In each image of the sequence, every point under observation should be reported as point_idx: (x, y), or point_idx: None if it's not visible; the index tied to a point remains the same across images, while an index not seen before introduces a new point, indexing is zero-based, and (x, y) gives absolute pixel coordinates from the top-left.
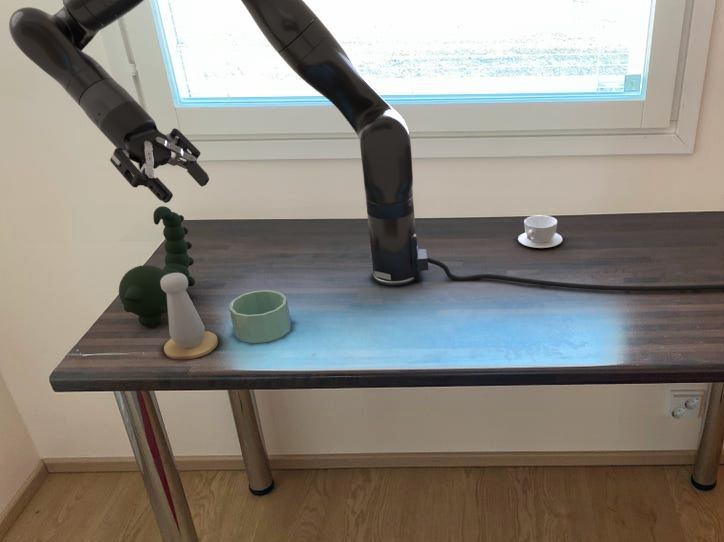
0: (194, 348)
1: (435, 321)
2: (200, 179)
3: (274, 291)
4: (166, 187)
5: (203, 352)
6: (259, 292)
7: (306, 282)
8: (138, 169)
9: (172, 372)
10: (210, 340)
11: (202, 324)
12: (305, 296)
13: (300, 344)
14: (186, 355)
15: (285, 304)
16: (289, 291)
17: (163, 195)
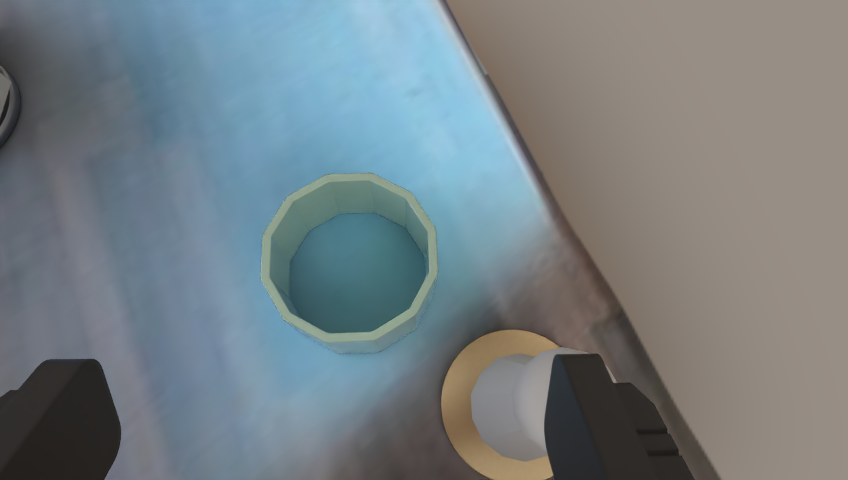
0: None
1: None
2: (82, 442)
3: (263, 254)
4: (583, 407)
5: (535, 334)
6: (282, 299)
7: (45, 344)
8: None
9: (634, 352)
10: (479, 360)
11: (491, 366)
12: (139, 288)
13: (386, 145)
14: None
15: (325, 175)
16: (120, 356)
17: (637, 394)
